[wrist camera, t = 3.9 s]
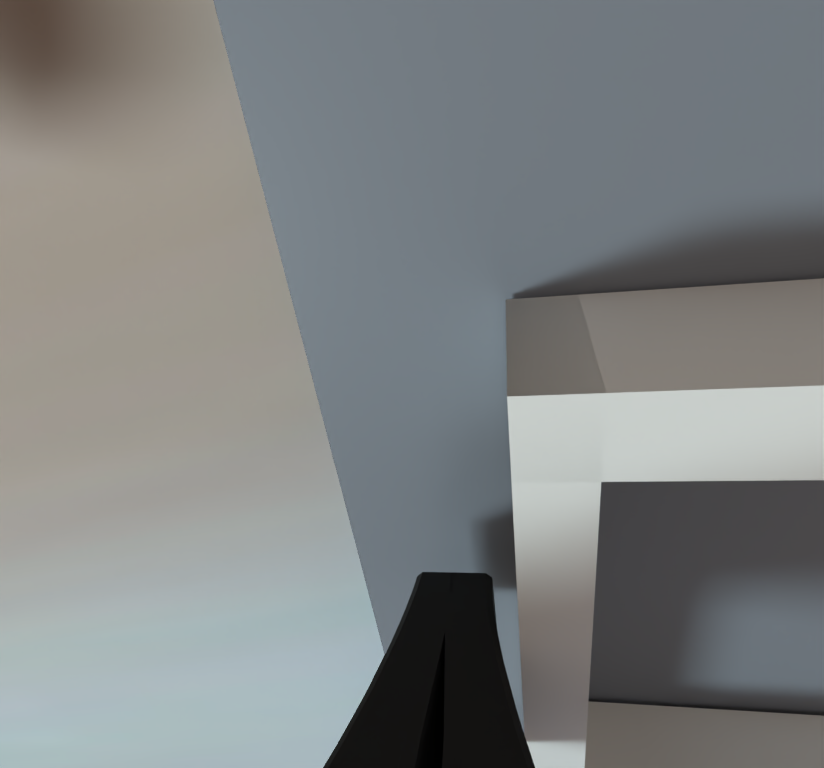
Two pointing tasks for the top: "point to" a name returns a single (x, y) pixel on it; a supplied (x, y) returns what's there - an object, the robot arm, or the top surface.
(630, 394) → the white u-shaped piece
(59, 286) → the top surface
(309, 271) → the board
